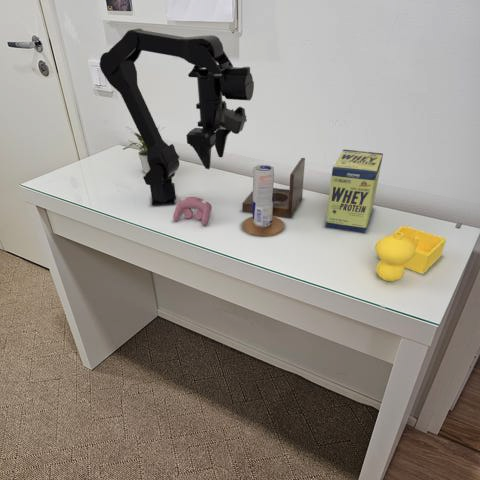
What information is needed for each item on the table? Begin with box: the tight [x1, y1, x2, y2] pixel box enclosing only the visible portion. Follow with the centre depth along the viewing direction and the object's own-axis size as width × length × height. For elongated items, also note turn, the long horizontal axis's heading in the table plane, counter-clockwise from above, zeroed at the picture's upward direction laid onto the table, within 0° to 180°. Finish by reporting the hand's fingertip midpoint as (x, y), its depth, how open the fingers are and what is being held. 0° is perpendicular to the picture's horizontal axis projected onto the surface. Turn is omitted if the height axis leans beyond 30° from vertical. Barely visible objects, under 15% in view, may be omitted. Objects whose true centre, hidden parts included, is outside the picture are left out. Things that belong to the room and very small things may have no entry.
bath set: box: [375, 225, 447, 282], centre depth 95 cm, size 20×10×11 cm, turn 138°
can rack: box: [242, 187, 303, 219], centre depth 124 cm, size 14×13×2 cm
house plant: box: [125, 126, 166, 174], centre depth 143 cm, size 14×14×16 cm
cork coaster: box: [241, 216, 285, 237], centre depth 114 cm, size 11×11×1 cm
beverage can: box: [252, 164, 275, 228], centre depth 110 cm, size 5×5×15 cm
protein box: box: [325, 149, 384, 234], centre depth 113 cm, size 10×16×16 cm
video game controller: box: [172, 196, 213, 227], centre depth 117 cm, size 10×5×7 cm, turn 71°
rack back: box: [288, 157, 306, 219], centre depth 119 cm, size 1×13×12 cm, turn 161°
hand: (214, 162), depth 115 cm, fingers open, 9 cm apart
